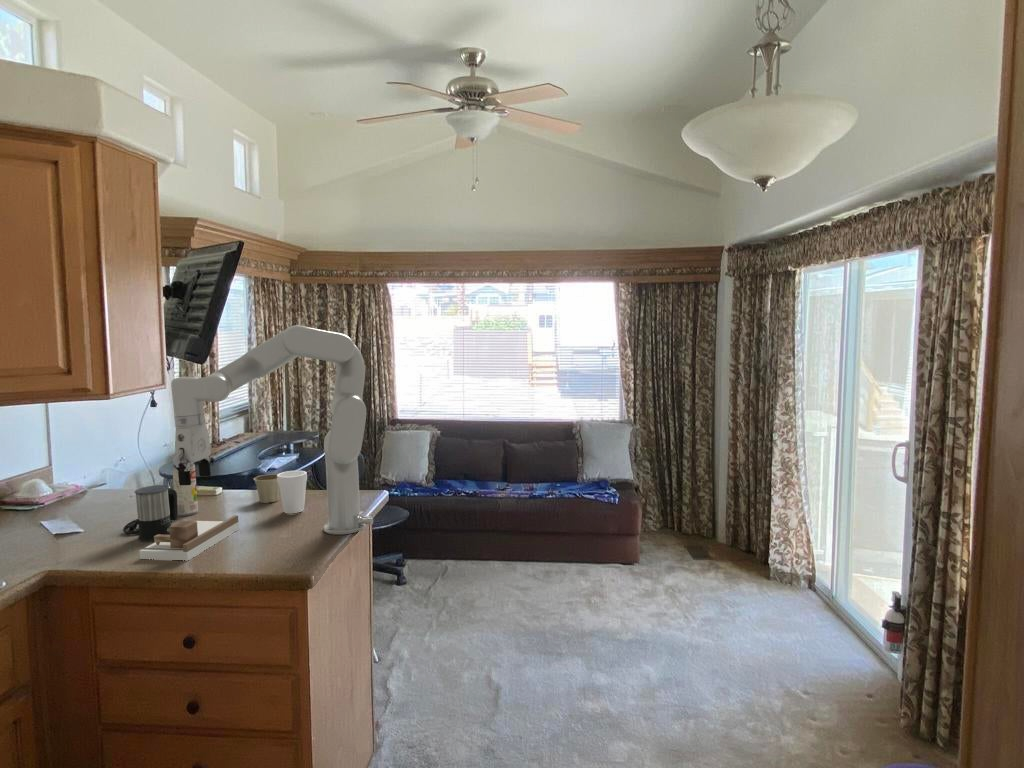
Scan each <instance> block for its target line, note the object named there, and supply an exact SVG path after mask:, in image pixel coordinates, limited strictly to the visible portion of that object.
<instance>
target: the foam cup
mask: <svg viewBox="0 0 1024 768" xmlns="http://www.w3.org/2000/svg"><path fill="white" fill-rule="evenodd" d="M307 473H308V472H307V471H305V470H287V471H283V472H280V473H277V474H278V475H277V482H278V485H279V494H280V500H281V504H282V509H283V512H285V513H297V512H301V511H303V510H304V511H305V502H306V490H307V480H308V474H307ZM304 511H303V512H304ZM285 513H284V514H285Z"/></svg>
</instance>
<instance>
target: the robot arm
mask: <svg viewBox="0 0 1024 768" xmlns="http://www.w3.org/2000/svg"><path fill="white" fill-rule="evenodd" d="M299 356H300V357H305V358H307V359H308V358H309V359H314V360H319V361H320V360H321V361H326V362H331V363H334V364H335V369H336V373H335V374H336V375H335V380H334V381H335V383H334V388H333V389H334V390H333V395H332V401H331V404H330V412H331V415H332V416H331V417H332V418H331V424H330V429H329V431H328V432H327V433H326V435H324V436H325V437H324V440H323V451H324V458H325V459H324V460H325V473H326V475H325V477H326V494H327V495H326V496H327V512H328V513H327V514H328V515H327V516H328V518H327V519H328V522H327V523H325V524H324V525H323V532H325V533H326V534H329V535H336V536H337V535H348V534H349V535H350V534H354V533H358V532H361V531H362V530H364V529H365V528H366V527H367V525H373V524H374V517H372V516H371V515H366V516H365V515H364V511H361V502H360V480H359V479H360V478H359V477H360V476H359V461H358V457H359V456H360V454H361V451H362V446H363V440H364V433H365V427H366V421H367V407H366V404H365V401H364V400H363V398H364V397H363V396H364V390H365V389H364V388H365V380H366V379H365V377H366V364H365V359H364V357H363V354H362V353H361V351H360V349H359V347H358V346H357V345H356V344H355V342H354V341H353V340H352V337H349V336H348V335H347V334H344V333H340V332H334V331H329V330H328V331H327V330H323V329H317V328H312V327H309V326H304V325H300V324H296V325H291V326H289V327H288V328H286V329H284V330H282V331H281V332H279V333H277V334H276V335H273V336H272V337H270V338H269V339H267V340H265V341H264V342H262V343H260V344H258V345H257V346H255V347H253V348H251V349H250V350H248V351H247V352H245V353H244V354H243V355H241V356H240V357H238V358H237V359H235V360H233V361H231V362H230V363H228V364H227V365H224V366H223V367H221V368H219V369H217V370H216V371H214V372H213V373H211V374H209V375H208V376H204V377H198V376H181V377H179V376H178V377H175V378H173V379H172V380H171V383H170V385H171V396H172V405H173V417H174V427H175V436H174V439H175V440H174V441H175V442H174V443H175V447H174V448H175V454H174V456H173V457H172V463H173V465H174V466H175V468H176V470H177V472H178V477H179V485H191V475H190V471H188V469H189V466H190V463H191V462H192V463H194V464H196V463H198V473H199V474H198V475H199V477H211V476H212V475H211V473H212V472H211V463H210V462H211V459H212V458H211V456H212V447H213V446H212V444H211V441H210V435H209V430H208V426H207V424H206V422H205V421H206V419H205V412H204V411H205V409H204V402H211V403H217V402H222V401H224V400H226V399H227V398H228V397H229V396H230V394H231V393H232V392H234V391H236V390H237V389H239V388H241V387H243V386H244V385H247V384H248V383H249V382H252V381H253V380H256V379H258V378H262V377H264V376H267V375H269V374H271V373H273V372H275V371H277V370H278V369H280V368H282V367H283V366H285V365H287V364H288V363H290V362H291V361H294V359H296V358H298V357H299ZM183 464H186V465H185V466H184V465H183Z"/></svg>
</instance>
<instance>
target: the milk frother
mask: <svg viewBox="0 0 1024 768" xmlns="http://www.w3.org/2000/svg"><path fill="white" fill-rule="evenodd" d="M134 494H135V499H136V500H135V501H136V502H135V503H136V512H137V518H136V519H133V520H132V521H130V522H128V523H127V524H125V526H123V529H122V530H123V533H124V534H127V535H137V534H138V540H139V541H142V542H154V536H156V535H158V534H159V535H170V533H169V527H170V526H172V521H177V520H178V517H179V516H178V515H177V514H178V513H177V493H176V491H175V490H174V488H171V487H169V486H168V485H164V484H163V485H162V484H157V485H156V484H155V485H148V486H144V487H140V488H137V489H135V490H134ZM137 527H138V529H136V528H137Z"/></svg>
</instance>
